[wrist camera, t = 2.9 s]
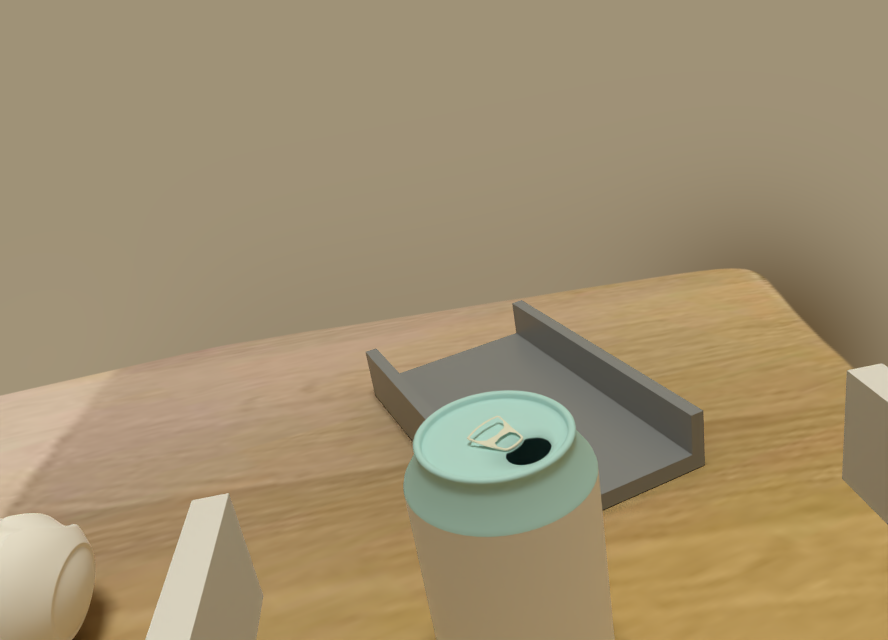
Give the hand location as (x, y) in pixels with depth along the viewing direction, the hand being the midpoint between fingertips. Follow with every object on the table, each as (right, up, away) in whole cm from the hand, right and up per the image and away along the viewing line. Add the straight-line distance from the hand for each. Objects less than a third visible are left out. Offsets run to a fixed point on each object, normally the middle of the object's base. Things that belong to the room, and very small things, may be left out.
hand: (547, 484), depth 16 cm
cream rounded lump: (-22, -13, +22) cm, 34 cm away
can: (+1, -11, +16) cm, 20 cm away
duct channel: (+3, -3, +33) cm, 33 cm away
